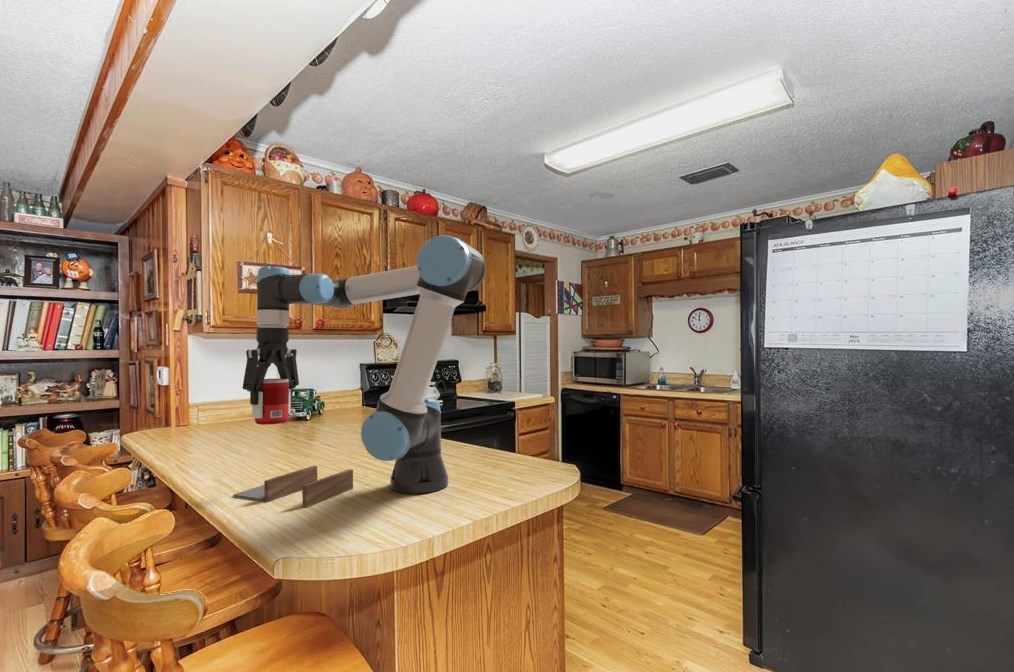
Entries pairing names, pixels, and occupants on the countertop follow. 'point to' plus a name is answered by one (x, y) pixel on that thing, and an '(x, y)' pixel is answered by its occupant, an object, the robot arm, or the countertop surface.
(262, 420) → the canned food
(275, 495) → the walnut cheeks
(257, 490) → the slate mat
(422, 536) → the countertop surface
